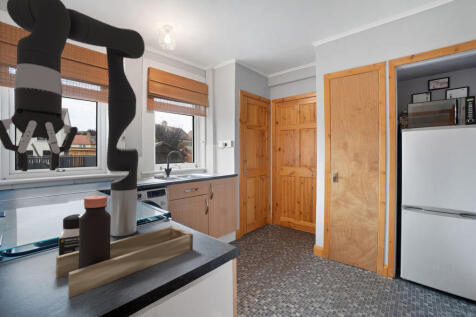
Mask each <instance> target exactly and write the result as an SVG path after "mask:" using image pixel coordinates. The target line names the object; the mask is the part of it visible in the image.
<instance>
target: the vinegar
mask: <svg viewBox="0 0 476 317" xmlns="http://www.w3.org/2000/svg"><path fill="white" fill-rule="evenodd" d="M83 198H84V199H83V207H84V208H83V209H84V210H85V212H84V213H82V214H83V215H82V216H81V217H80V219H79V269H82V268H85V267H88V266H91V265H94V264H97V263H100V262H104V261H107V260H110V242H111V239H112V238H111V237H112V235H111V215H110V213H109V212H108V211H107V210H106V208H107V205H108V196H107V195H91V196H85V197H83Z"/></svg>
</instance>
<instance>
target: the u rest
mask: <svg viewBox="0 0 476 317" xmlns="http://www.w3.org/2000/svg"><path fill="white" fill-rule="evenodd" d="M192 250H194V234H192V233H191V232H188V231H185V230H183V229H180V228H178V227H175V226H173V225H170V226H167V227H162V228H159V229H156V230H151V231H148V232H144V233H141V234H136V235H133V236H132V235H131V236H129V237H126V238H122V239H118V240H114V241H110V260H107V261H104V262H100V263H97V264H94V265H91V266H88V267H85V268H82V269H79V251H76V252H72V253H68V254H64V255H61V256H59V255H57V256H56V257H55V258H56V261H55V262H56V264H55V265H56V267H55V268H56V269H55V270H56V271H55V273H56V274H55V277H56V278H57V279H59V278H62V277H65V276H68V291H67V293H68V297H69V298H73V297H75V296H77V295H80V294H83V293H86V292H88V291H91V290H93V289H96V288H98V287H100V286H102V285H103V286H104V285H106V284H108V283H110V282H113V281H116V280H119V279H121V278H124V277H127V276H130V275H132V274H133V273H137V272H139V271H141V270H144V269H146V268H149V267H152V266H154V265H157V264H159V263H162V262H165V261H167V260H170V259H172V258H175V257H177V256H180V255H183V254H184V253H188V252H190V251H192Z"/></svg>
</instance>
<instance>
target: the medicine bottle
mask: <svg viewBox="0 0 476 317" xmlns="http://www.w3.org/2000/svg"><path fill="white" fill-rule="evenodd" d="M83 214H84V213H75V214H70V215H67V216H65V217H64V218H63V219H62V231H61V233H60V234H59V235H60V236H59V237H58V256H61V255H64V254H68V253H72V252H76V251H79V219H80V217H81V216H82V215H83Z"/></svg>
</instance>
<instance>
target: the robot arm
mask: <svg viewBox="0 0 476 317" xmlns="http://www.w3.org/2000/svg"><path fill="white" fill-rule="evenodd" d="M6 11H7V13H8V16H9V17H10V18H11V20H12V21H13V22H14V24H16V25H17V26H19V28H21V29H22V30H24V31H26V32H29V34H28V35H26V36H24V37H22V38H20V39H19V40H18V41H17V46H16V69H15V70H16V71H15V74H14V112H13V115H12V116H11V117H10V118H6V119H5V118H4V119H0V142H1V144H2V146H3V148H4V149H5V150H9V151H12V152H14V153H16V167H17V168H18V170H20V169H21V170H20V171H21V172H28V159H29V158H28V155H29V154H28V153H27V150H28V147H29V144H30V142H31V140H32V139H34V138H36V139H37V138H40V139H44V140H46V143H47V145H48V147H49V150H50V153H49V167H48V168H49V171H54V172H55V171H56V168H57V169H58V168H59V167H60V154H61V153H63V152H67V151H70V149H71V147H72V144H73V142H74V139H75V138H76V136H77V132H78V130H79V128H78V127H77V126H71V125H68V124H66V123H65V121H64V120H63V116H62V115H63V114H62V111H63V108H62V107H63V105H62V104H63V103H62V102H63V92H64V91H63V81H62V76H61V74H62V70H61V69H62V68H61V66H62V65H61V64H62V59H61V58H62V54H63V52H64V49H65V46H66V45H67V41H68V40H70V41H74V42H77V43H81V44H86V45H90V46H94V47H101V48H106V50H105V51H106V60H107V61H106V62H107V74H108V75H107V76H108V80H107V81H108V84H107V85H108V87H107V88H108V90H107V91H108V93H107V111H108V112H107V117H108V119H107V120H108V123H107V124H108V134H107V135H108V137H107V149H106V167H107V169H108V171H109V172H112V173H113V172H124V173H125V172H128V173H127V175H125V176H124V177H122V178H119V179H117V180H114V181H112V182H111V183H110V208H109V210H110V213H109V214H110V215H111V237H112V236H113V237H124V236H129V235H132V234H134V233H136V232H137V221H138V220H137V215H138V213H137V212H138V170H139V152H138V150H137V149H136V148H131V147H130V148H129V147H118V146H117V145H118V143H119V140H120V138H122V135H123V133H124V132H125V131H126V129H127V128H128V127H129V126H130V125H131V123H132V122H133V120H134V119H135V117H136V115H137V96H136V94H135V91H134V89H133V87H132V85H131V83H130V82H129V79H128V78H127V75H126V73H125V67H124V64H125V63H124V59H134V60H137V59H140V58H142V57H143V56H144V54H145V51H146V50H145V49H146V48H145V41H144V37H143V36H142V35H141V34H140V32H139V31H136V30H134V29H131V28H121V27H117V26H115V25H110V24H108V23H106V22H103V21H101V20H98V19H96V18H93V17H91V16H90V15H86V14H85V13H82V12H80V11H78V10H75V9H72V8H68V7H66V5H65V4H64V3H63V2H62V0H7V2H6ZM12 124H13V125H14V126H15V127H16V129H18V131H19V132H20V133H21V136H20V139H19V141H18V144H17V145H16V144H13V141H12V140H11V137H10V135H9V133H8V130H10V129H11V125H12ZM62 129H63V133H64V134H65V136H64V139H63V142H62V144H61V146H59V144H58V139H57V136H56V135H57V134H58V133H59V132H60V131H61V130H62Z"/></svg>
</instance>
